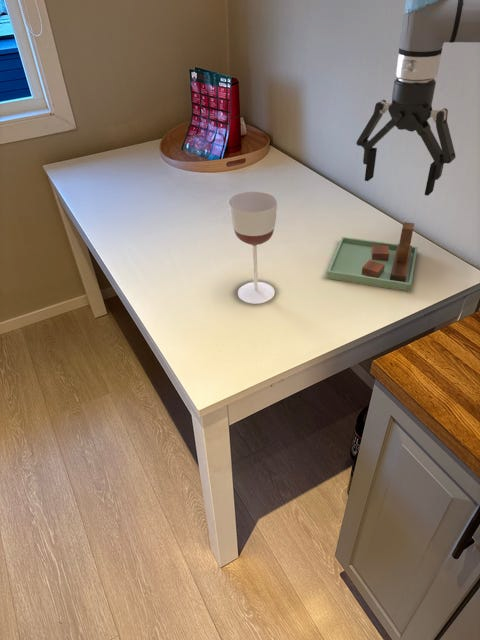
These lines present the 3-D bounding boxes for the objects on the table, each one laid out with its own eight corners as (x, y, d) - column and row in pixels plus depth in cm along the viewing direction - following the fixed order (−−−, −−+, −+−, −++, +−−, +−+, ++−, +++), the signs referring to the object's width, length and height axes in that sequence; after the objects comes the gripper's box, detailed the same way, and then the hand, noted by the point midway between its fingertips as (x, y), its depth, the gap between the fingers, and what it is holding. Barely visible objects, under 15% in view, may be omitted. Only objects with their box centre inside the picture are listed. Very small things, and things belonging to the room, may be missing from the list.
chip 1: (387, 252, 123) (388, 245, 122) (388, 261, 120) (389, 254, 119) (371, 251, 124) (372, 244, 123) (371, 260, 121) (372, 253, 120)
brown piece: (410, 254, 122) (419, 212, 115) (404, 285, 112) (413, 241, 105) (396, 252, 123) (403, 211, 116) (389, 282, 113) (396, 239, 106)
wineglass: (245, 277, 119) (240, 189, 104) (283, 286, 115) (284, 196, 100) (228, 298, 112) (220, 207, 98) (267, 308, 109) (266, 215, 94)
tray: (416, 253, 123) (417, 246, 122) (409, 291, 111) (411, 284, 110) (341, 243, 129) (341, 236, 128) (326, 278, 117) (327, 271, 115)
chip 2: (383, 271, 117) (385, 264, 116) (377, 279, 114) (378, 272, 113) (368, 266, 119) (369, 259, 118) (361, 274, 116) (362, 267, 115)
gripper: (346, 75, 95) (337, 179, 108) (477, 91, 82) (449, 206, 96) (364, 67, 99) (354, 168, 113) (491, 81, 87) (462, 192, 100)
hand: (397, 185), depth 104 cm, fingers open, 13 cm apart
